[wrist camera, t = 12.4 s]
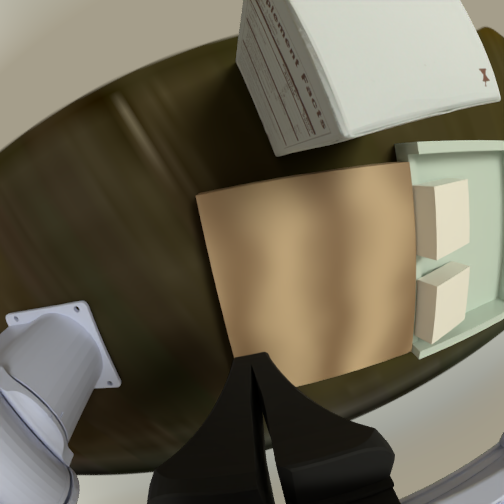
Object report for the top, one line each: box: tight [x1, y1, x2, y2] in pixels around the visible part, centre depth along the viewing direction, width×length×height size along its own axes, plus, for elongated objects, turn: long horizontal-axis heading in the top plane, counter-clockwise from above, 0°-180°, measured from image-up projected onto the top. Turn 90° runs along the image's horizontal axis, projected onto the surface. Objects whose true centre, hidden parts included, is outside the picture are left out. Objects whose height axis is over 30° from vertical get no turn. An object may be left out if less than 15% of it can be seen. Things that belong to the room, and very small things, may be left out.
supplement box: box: [236, 0, 501, 157], centre depth 12 cm, size 7×7×13 cm
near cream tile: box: [412, 178, 470, 261], centre depth 19 cm, size 5×5×2 cm
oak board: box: [196, 162, 416, 387], centre depth 21 cm, size 14×15×2 cm
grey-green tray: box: [394, 140, 504, 359], centre depth 21 cm, size 14×17×3 cm
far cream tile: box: [415, 261, 470, 344], centre depth 21 cm, size 5×5×2 cm
